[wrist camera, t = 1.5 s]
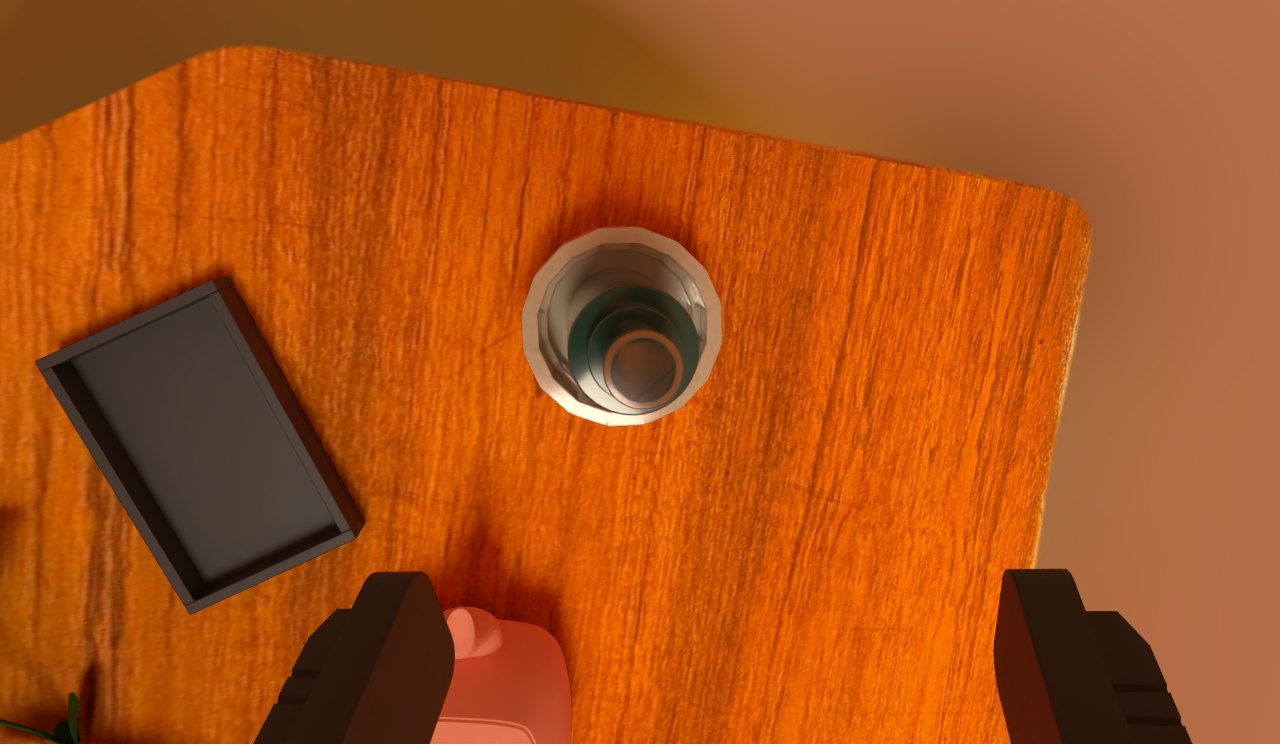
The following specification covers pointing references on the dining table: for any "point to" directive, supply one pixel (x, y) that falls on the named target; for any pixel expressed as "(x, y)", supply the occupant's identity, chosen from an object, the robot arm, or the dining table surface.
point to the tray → (204, 443)
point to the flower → (57, 725)
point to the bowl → (594, 254)
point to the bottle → (629, 342)
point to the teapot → (504, 684)
